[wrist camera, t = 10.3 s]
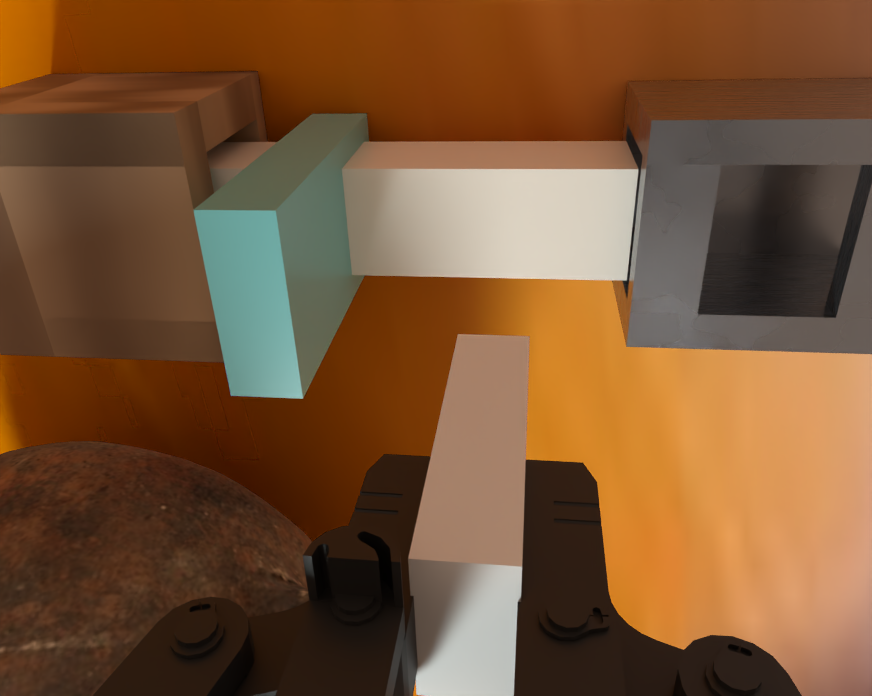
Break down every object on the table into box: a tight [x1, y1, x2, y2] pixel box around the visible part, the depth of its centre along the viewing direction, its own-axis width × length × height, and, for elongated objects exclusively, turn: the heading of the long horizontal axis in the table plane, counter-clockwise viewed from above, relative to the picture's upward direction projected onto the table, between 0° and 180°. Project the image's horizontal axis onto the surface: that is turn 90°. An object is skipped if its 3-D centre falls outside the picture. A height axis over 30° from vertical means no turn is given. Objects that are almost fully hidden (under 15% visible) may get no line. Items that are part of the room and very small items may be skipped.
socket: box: [0, 71, 268, 362], centre depth 26 cm, size 8×8×7 cm
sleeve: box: [612, 78, 872, 354], centre depth 23 cm, size 8×7×6 cm
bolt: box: [193, 113, 638, 399], centre depth 23 cm, size 16×5×10 cm, turn 92°
